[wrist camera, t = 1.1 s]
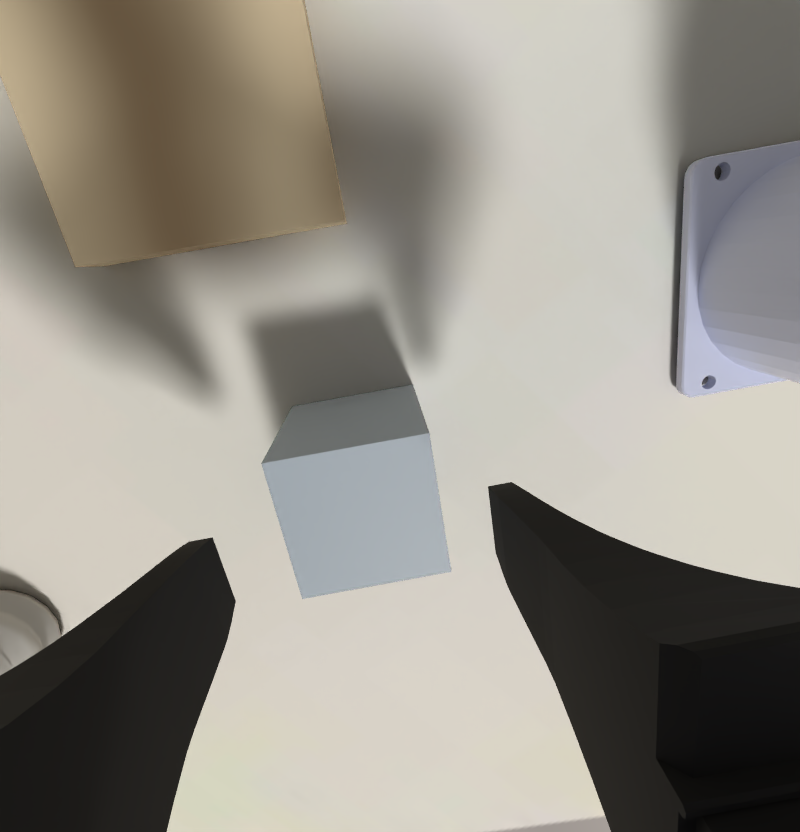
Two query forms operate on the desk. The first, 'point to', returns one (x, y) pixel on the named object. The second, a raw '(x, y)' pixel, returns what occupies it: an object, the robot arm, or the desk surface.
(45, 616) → the rook chess piece
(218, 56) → the maple block
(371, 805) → the desk surface
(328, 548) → the slate block
